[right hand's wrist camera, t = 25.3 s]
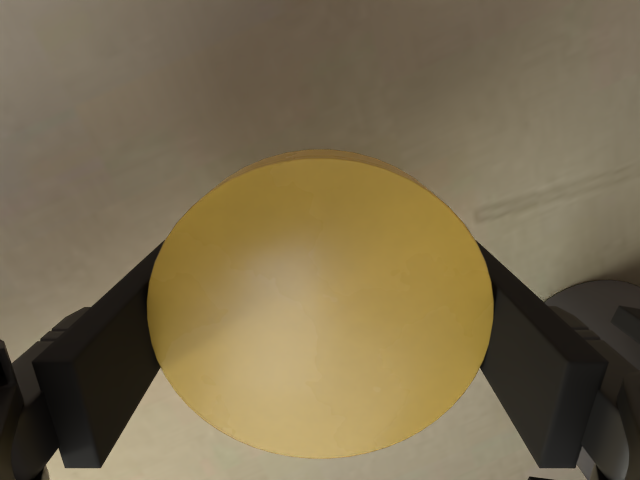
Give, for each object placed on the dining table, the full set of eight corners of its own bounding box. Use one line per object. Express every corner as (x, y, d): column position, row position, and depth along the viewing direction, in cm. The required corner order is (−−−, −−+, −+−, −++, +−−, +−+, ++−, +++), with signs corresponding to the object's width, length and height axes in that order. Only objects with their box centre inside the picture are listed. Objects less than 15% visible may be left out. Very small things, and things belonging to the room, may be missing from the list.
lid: (137, 160, 10) (105, 171, 9) (483, 137, 10) (513, 144, 9) (198, 423, 14) (182, 466, 12) (461, 410, 13) (480, 452, 12)
